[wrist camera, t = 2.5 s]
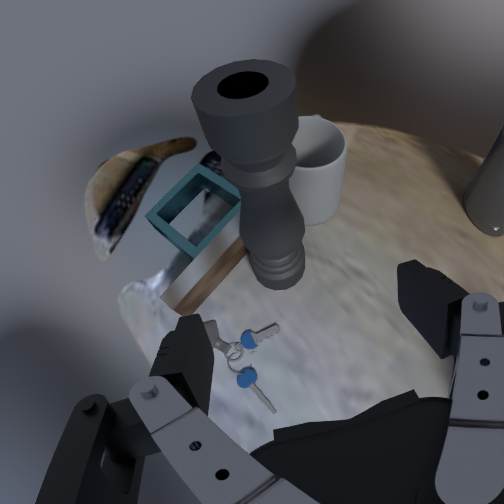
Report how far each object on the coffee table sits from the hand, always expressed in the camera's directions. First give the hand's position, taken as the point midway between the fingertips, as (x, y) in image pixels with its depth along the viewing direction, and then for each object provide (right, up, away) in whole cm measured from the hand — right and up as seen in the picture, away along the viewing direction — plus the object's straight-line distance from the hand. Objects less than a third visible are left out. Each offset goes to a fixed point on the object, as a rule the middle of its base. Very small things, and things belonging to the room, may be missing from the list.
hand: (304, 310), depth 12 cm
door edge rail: (-5, +1, +27) cm, 27 cm away
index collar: (-8, +6, +30) cm, 32 cm away
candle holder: (+1, 0, +26) cm, 26 cm away
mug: (+6, +11, +30) cm, 32 cm away
